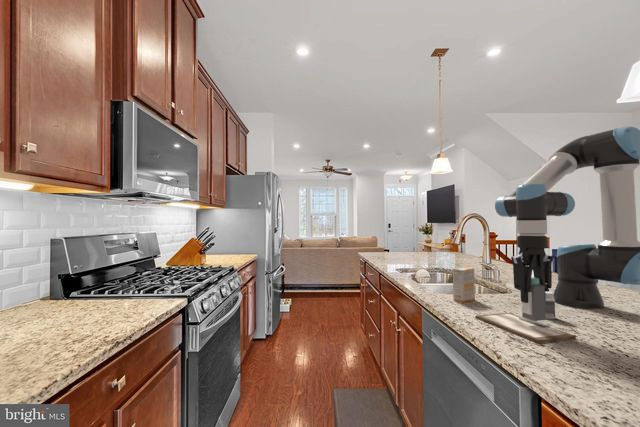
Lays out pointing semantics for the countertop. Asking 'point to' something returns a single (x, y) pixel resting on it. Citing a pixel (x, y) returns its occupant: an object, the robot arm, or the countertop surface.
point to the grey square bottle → (536, 301)
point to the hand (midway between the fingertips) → (533, 312)
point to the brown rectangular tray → (526, 327)
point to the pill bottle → (549, 306)
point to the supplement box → (463, 284)
